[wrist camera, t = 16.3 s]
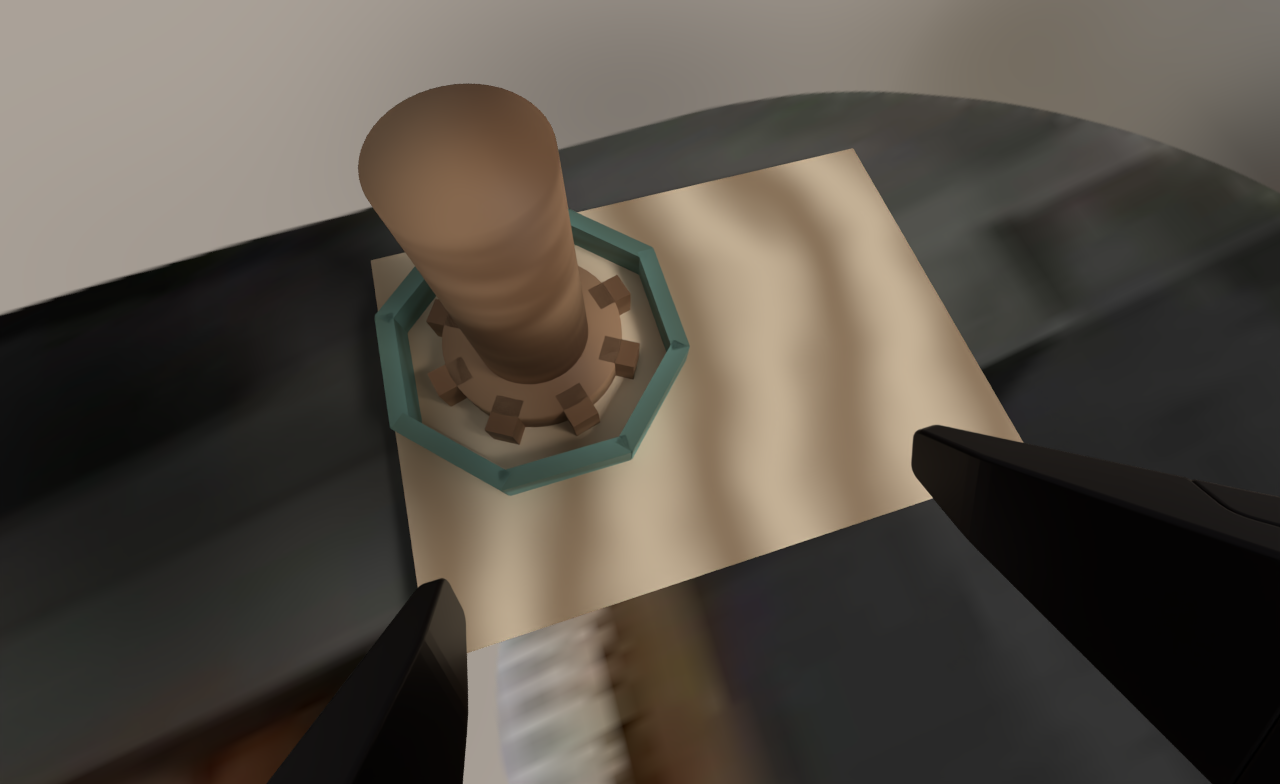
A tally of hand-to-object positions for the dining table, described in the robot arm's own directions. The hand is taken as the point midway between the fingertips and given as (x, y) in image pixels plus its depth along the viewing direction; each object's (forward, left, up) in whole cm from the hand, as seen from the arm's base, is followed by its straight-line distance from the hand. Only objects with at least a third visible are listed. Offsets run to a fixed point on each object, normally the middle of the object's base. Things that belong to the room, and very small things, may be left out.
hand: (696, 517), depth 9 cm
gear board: (+6, +7, -14) cm, 16 cm away
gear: (0, +11, -12) cm, 16 cm away
